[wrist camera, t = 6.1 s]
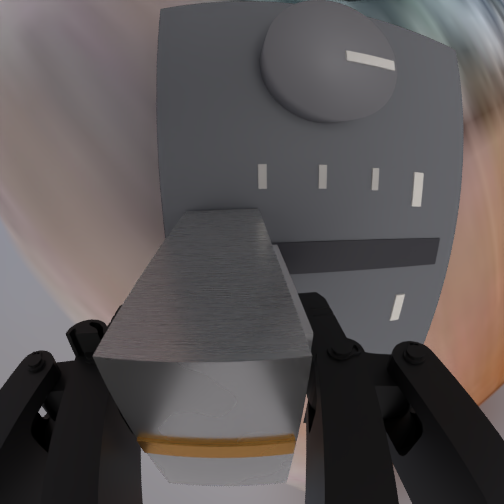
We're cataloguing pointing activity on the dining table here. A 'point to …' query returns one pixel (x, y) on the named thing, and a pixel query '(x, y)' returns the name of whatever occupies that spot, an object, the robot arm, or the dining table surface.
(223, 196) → the console
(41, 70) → the dining table surface
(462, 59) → the dining table surface
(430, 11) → the dining table surface
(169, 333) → the fader
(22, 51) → the dining table surface
